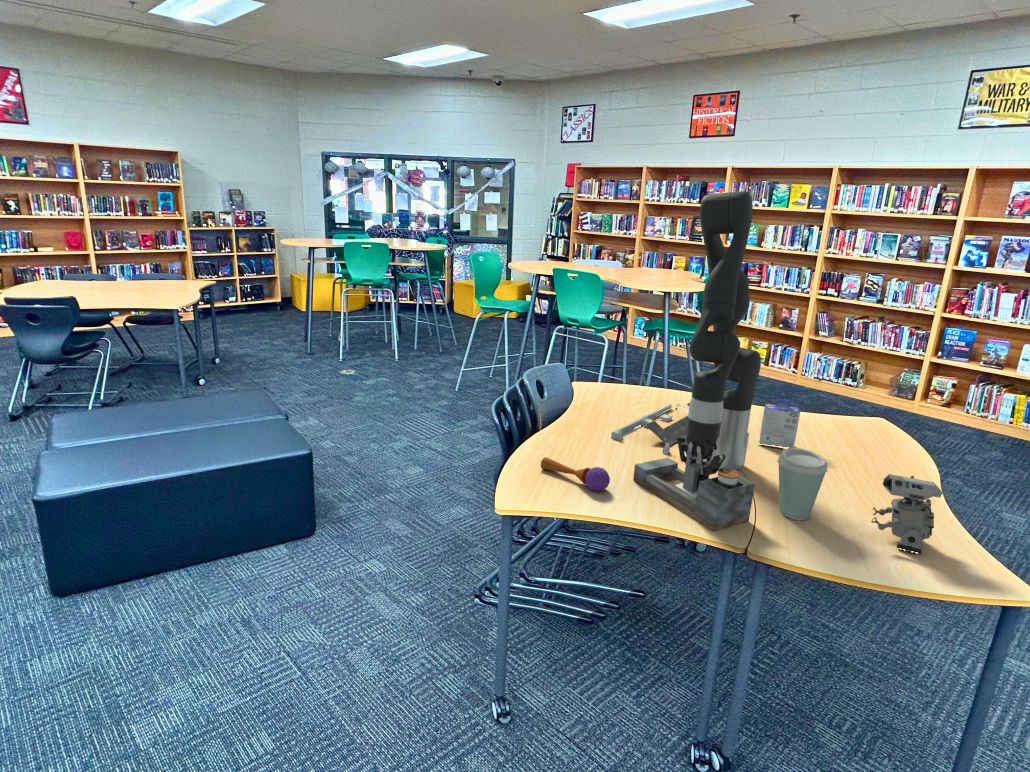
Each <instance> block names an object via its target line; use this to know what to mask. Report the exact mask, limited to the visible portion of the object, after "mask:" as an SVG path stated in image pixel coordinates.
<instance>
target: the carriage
mask: <svg viewBox="0 0 1030 772" xmlns="http://www.w3.org/2000/svg"><path fill="white" fill-rule="evenodd" d="M704 469H705V466H704ZM684 472H685V474H684V482H683V483H681V484H677V485H675V487H674V488H676V489H678V490H679V491H681V492H683V493H684V494H686V495H688V496H689V497H691V498H693V499H694V500H696V501H697V495H698V488H697V482H698V475H699V474H700V473H699V464H698V461H697V463H692V464H687V465H685V469H684ZM708 479H710V475H708Z"/></svg>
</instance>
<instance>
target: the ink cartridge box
mask: <svg viewBox="0 0 1030 772" xmlns="http://www.w3.org/2000/svg"><path fill="white" fill-rule="evenodd" d="M790 401H791V399H786V398H779V397H776V403H775V404H768V403H765V405H764V408H763V415H762V416H763V417H762V421H761V428H760V435H759V439H760V440H759V439H758V444H759V443H760V444H767V445H775V446H782V447H789V448H795V443H796V437H797V431H798V427H799V421H800V415H801V410H800V408H799V407H794V406H790ZM780 402H785V403H780Z"/></svg>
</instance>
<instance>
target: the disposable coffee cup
mask: <svg viewBox="0 0 1030 772" xmlns="http://www.w3.org/2000/svg"><path fill="white" fill-rule="evenodd" d="M776 463H778V506H779V507H778V509H779V513H780V512H781V513H782V514H783V515H784V516H783V515H782V514H781V513H780V514H781V515H782V516H783V517H785V516H786V517H785V518H787V517H788V519H789V518H791V519H790V520H794V519H796V520H795V521H806V520H808V519H809V517H811V514H812V511H813V508H814V505H815V503H816V500H817V497H818V495H819V491H820V489H821V486H822V483H823V481H824V478H825V475H826V473H827V472H828V463H827V461H826V459H824V458H823V457H822V455H821V454H819V453H816V452H814V451H812V450H808V449H806V448H800V447H794V448H788V449H782V451H781V453H780V454H779V456H778V459H777V461H776ZM807 518H808V519H807Z"/></svg>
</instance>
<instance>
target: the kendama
mask: <svg viewBox="0 0 1030 772" xmlns="http://www.w3.org/2000/svg"><path fill="white" fill-rule="evenodd" d="M540 468H541V469H542V470H544V471H545V470H546V471H551V472H556V473H562V474H568V475H574V476H576V478H578V479H579V480H580V482H582V484H583V485H586V486H587V487H588V489H590V490H591V491H594V492H603V491H604V490H606V489H607V488H608V487H609V485H610V482H611V478H610V475H609V473H608V471H607V470H606V469H605V468H603V467H599V466H594V467H592V468H590V467H585V468H581V469H578V470H575V469H573V468H571V467H569V466H566V465H564V464H563V463H560V462H558V461H555V460H553V459H552V458H549V457H545V456H544V457H543V458H542V459H541V461H540Z"/></svg>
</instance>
